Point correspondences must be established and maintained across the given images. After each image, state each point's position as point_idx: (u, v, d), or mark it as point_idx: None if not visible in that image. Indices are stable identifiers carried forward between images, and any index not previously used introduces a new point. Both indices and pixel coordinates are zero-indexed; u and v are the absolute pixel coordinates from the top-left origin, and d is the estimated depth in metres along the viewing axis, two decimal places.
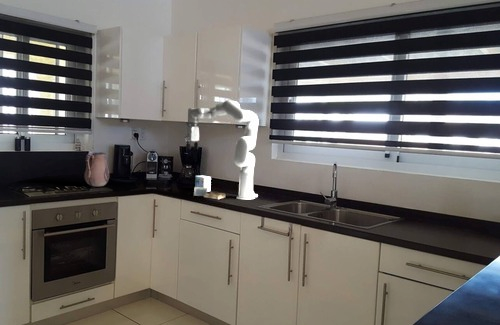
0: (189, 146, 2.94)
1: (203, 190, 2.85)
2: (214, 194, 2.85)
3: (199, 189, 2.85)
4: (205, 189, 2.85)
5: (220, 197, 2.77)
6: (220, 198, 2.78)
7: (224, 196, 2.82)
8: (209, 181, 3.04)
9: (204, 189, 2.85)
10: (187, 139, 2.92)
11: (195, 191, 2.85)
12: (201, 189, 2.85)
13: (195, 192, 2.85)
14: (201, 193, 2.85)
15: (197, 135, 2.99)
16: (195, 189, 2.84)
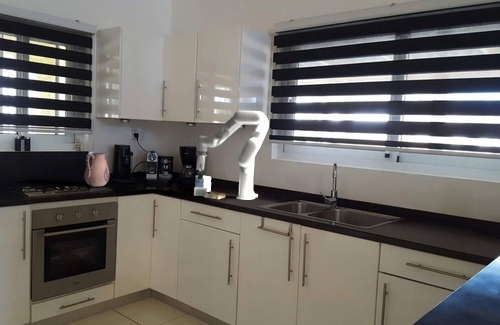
0: None
1: (203, 190, 2.85)
2: (214, 194, 2.85)
3: (199, 189, 2.85)
4: (205, 189, 2.85)
5: (220, 197, 2.77)
6: (220, 198, 2.78)
7: (224, 196, 2.82)
8: (209, 181, 3.04)
9: (204, 189, 2.85)
10: None
11: (195, 191, 2.85)
12: (201, 189, 2.85)
13: (195, 192, 2.85)
14: (201, 193, 2.85)
15: None
16: (195, 189, 2.84)
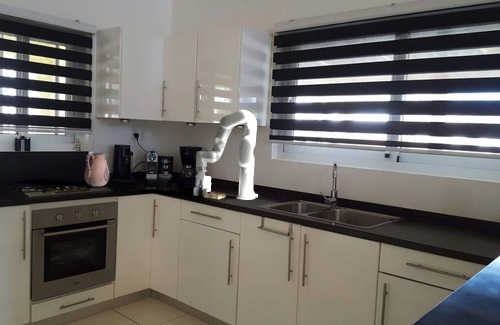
0: None
1: (203, 189, 2.85)
2: (214, 194, 2.85)
3: None
4: (205, 189, 2.85)
5: (220, 197, 2.77)
6: (220, 198, 2.78)
7: (224, 196, 2.82)
8: (209, 181, 3.04)
9: (204, 189, 2.85)
10: None
11: (195, 191, 2.85)
12: None
13: (195, 192, 2.85)
14: None
15: None
16: (195, 189, 2.84)
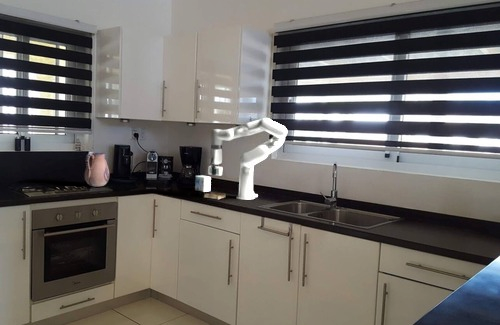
0: None
1: (216, 169, 2.78)
2: (214, 194, 2.85)
3: None
4: (218, 168, 2.77)
5: (220, 197, 2.77)
6: (220, 198, 2.78)
7: (224, 196, 2.82)
8: (209, 181, 3.04)
9: (217, 168, 2.77)
10: None
11: (209, 169, 2.80)
12: None
13: (209, 170, 2.80)
14: None
15: None
16: (209, 167, 2.80)
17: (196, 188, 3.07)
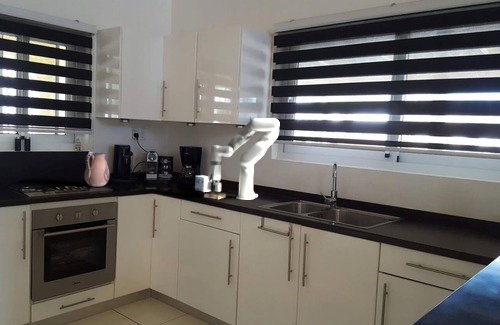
0: None
1: (215, 184, 2.79)
2: (214, 194, 2.85)
3: None
4: (217, 184, 2.78)
5: (220, 197, 2.77)
6: (220, 198, 2.78)
7: (224, 196, 2.82)
8: None
9: (216, 184, 2.78)
10: None
11: (208, 185, 2.81)
12: None
13: (208, 186, 2.81)
14: None
15: None
16: (208, 183, 2.81)
17: (196, 188, 3.07)
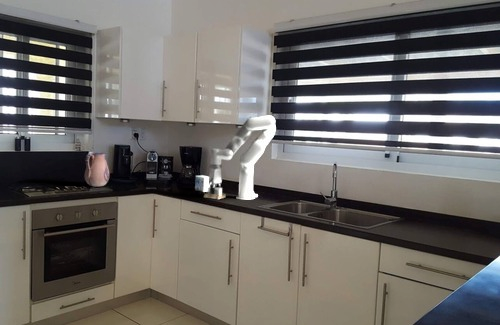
0: None
1: (216, 189, 2.79)
2: None
3: None
4: (217, 189, 2.78)
5: (220, 197, 2.77)
6: (220, 198, 2.78)
7: (224, 196, 2.82)
8: None
9: (217, 189, 2.79)
10: None
11: (209, 190, 2.82)
12: None
13: (209, 191, 2.82)
14: None
15: None
16: (209, 188, 2.81)
17: (196, 188, 3.07)
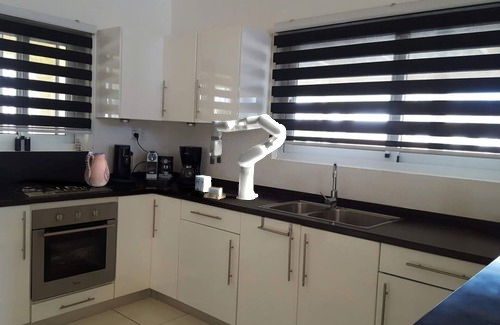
0: None
1: (216, 189, 2.79)
2: None
3: (212, 189, 2.80)
4: (217, 189, 2.78)
5: (220, 197, 2.77)
6: (220, 198, 2.78)
7: (224, 196, 2.82)
8: (209, 181, 3.04)
9: (217, 189, 2.79)
10: None
11: (209, 190, 2.82)
12: (214, 189, 2.80)
13: (209, 191, 2.82)
14: (214, 193, 2.80)
15: None
16: (209, 188, 2.81)
17: (196, 188, 3.07)
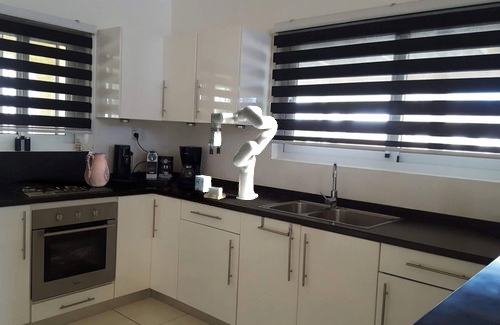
0: (217, 150, 3.01)
1: (216, 189, 2.79)
2: None
3: (212, 189, 2.80)
4: (217, 189, 2.78)
5: (220, 197, 2.77)
6: (220, 198, 2.78)
7: (224, 196, 2.82)
8: (209, 181, 3.04)
9: (217, 189, 2.79)
10: None
11: (209, 190, 2.82)
12: (214, 189, 2.80)
13: (209, 191, 2.82)
14: (214, 193, 2.80)
15: None
16: (209, 188, 2.81)
17: (196, 188, 3.07)
